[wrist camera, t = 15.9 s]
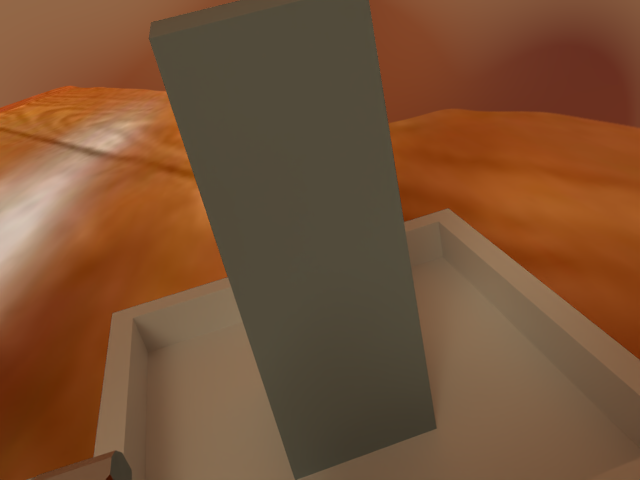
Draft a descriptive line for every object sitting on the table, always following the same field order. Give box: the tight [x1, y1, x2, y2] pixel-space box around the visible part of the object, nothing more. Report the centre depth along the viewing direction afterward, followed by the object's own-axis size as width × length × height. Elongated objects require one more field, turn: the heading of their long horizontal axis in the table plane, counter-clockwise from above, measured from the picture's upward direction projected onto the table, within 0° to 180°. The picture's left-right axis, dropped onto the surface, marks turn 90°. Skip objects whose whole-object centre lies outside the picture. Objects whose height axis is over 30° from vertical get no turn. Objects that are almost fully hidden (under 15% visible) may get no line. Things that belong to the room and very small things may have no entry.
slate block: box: [149, 0, 437, 480], centre depth 18 cm, size 5×5×14 cm
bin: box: [94, 208, 640, 480], centre depth 21 cm, size 17×17×3 cm
